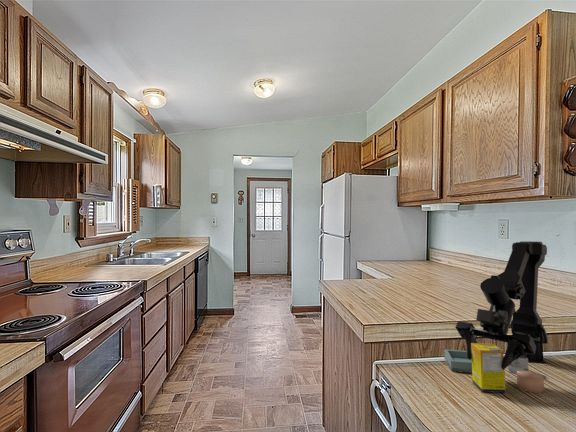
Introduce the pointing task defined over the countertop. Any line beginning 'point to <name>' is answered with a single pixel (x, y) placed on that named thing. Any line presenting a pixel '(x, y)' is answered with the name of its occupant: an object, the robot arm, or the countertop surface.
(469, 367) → the tray
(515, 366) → the tin
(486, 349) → the supplement box
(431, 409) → the countertop surface
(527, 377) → the peach egg-shaped pebble
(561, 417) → the countertop surface
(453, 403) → the countertop surface
